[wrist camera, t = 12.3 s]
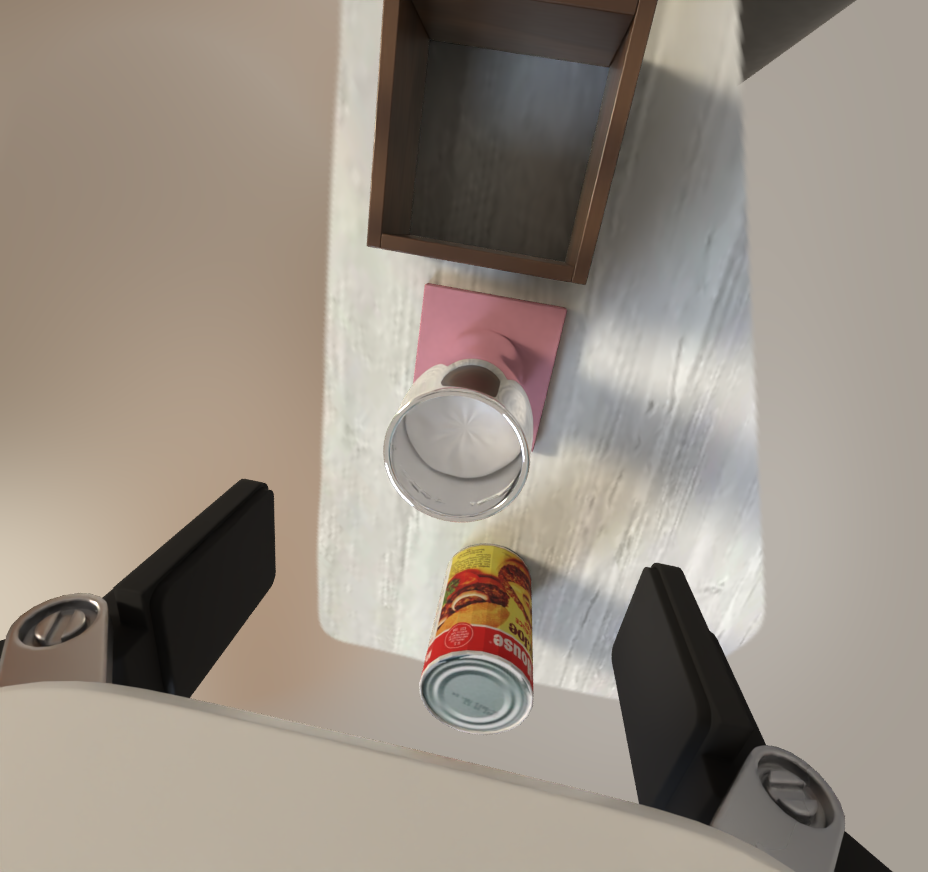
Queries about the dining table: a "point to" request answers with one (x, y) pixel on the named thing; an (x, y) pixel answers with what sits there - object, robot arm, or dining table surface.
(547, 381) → the mat
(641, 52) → the brown wooden box
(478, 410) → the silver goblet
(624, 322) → the dining table surface
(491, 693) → the canned food
